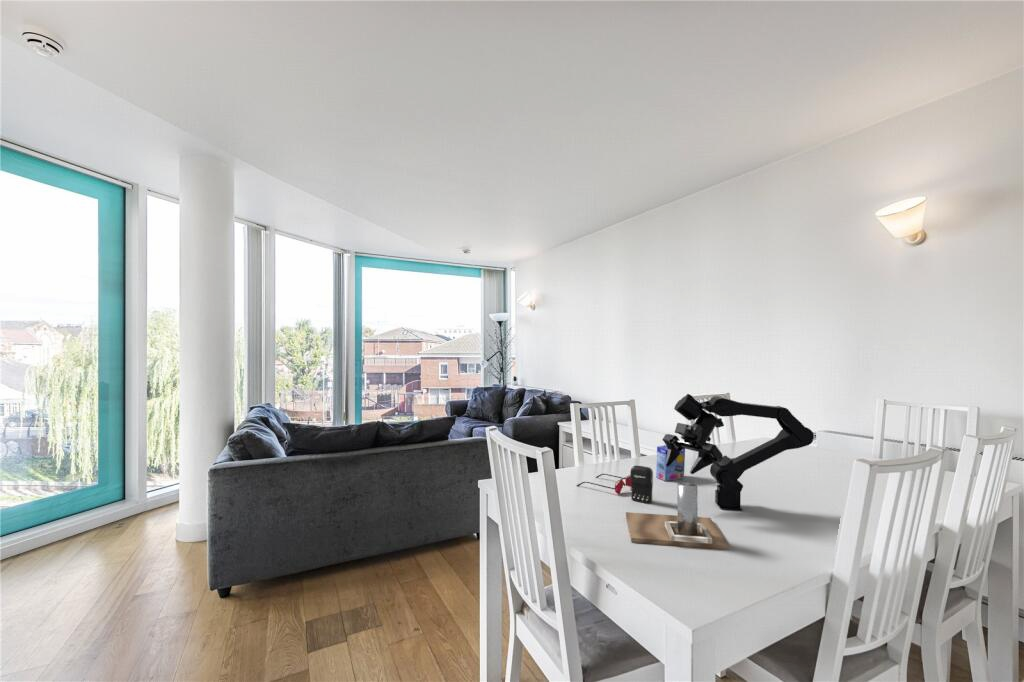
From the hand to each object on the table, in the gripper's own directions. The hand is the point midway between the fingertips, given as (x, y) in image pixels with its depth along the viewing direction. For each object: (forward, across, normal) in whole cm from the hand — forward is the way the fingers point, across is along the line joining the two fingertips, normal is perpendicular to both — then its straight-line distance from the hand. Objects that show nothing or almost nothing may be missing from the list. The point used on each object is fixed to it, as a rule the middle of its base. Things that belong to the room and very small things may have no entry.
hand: (678, 469), depth 140 cm
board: (+18, +8, 0) cm, 20 cm away
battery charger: (+11, -13, +8) cm, 19 cm away
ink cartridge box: (-8, -26, +28) cm, 39 cm away
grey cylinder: (+17, +13, 0) cm, 22 cm away
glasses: (+11, -31, +8) cm, 34 cm away
